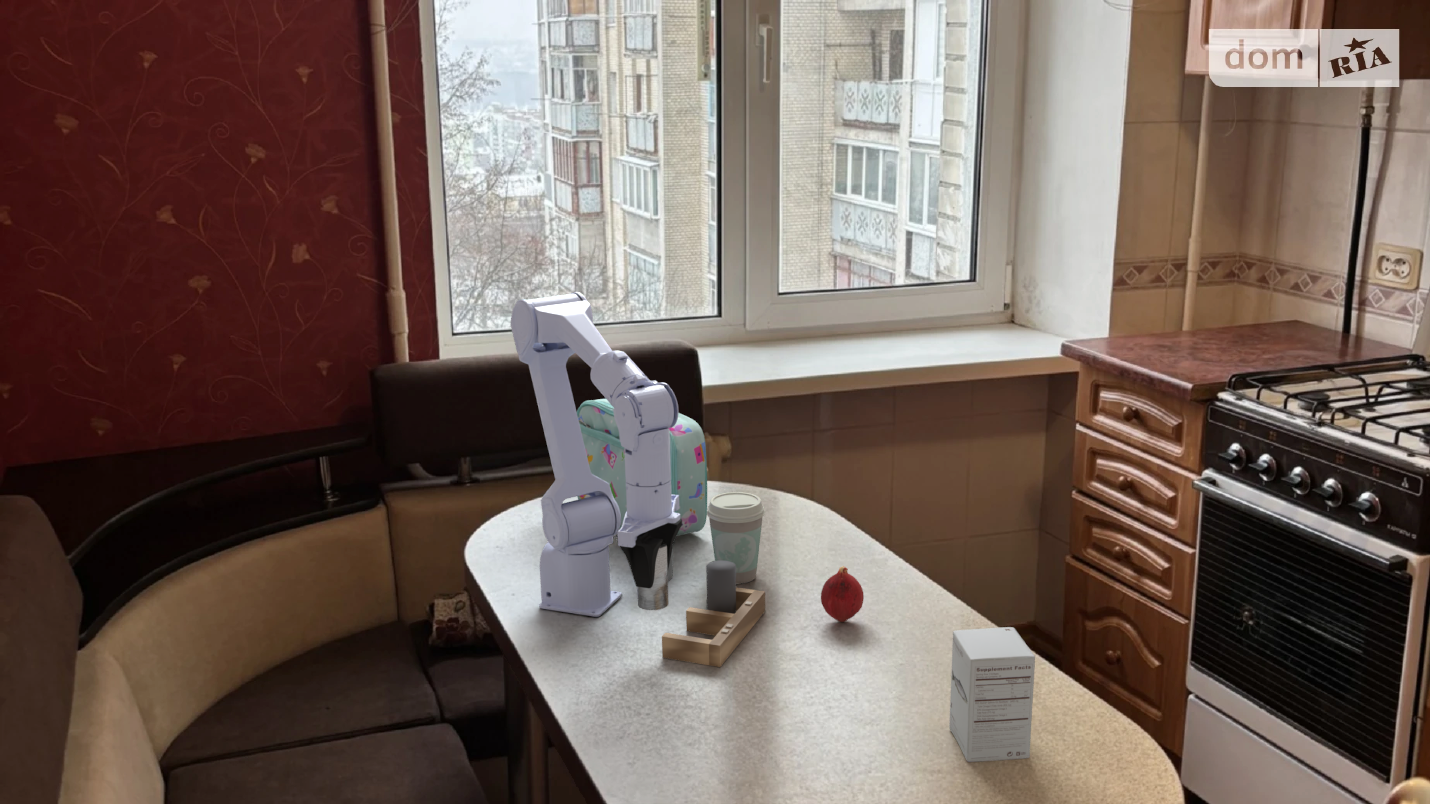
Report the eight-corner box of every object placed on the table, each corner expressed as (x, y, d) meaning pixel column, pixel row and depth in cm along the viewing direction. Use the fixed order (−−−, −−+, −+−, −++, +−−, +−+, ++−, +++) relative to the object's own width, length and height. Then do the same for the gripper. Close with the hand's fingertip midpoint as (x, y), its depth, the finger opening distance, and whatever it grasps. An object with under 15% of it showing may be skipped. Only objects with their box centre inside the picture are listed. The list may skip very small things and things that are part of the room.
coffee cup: (699, 583, 187) (697, 506, 183) (720, 561, 194) (719, 487, 191) (753, 591, 183) (752, 513, 180) (773, 569, 191) (772, 494, 188)
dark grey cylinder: (702, 623, 173) (702, 569, 171) (713, 612, 177) (712, 558, 175) (730, 628, 172) (729, 573, 170) (740, 616, 175) (740, 562, 173)
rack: (662, 657, 164) (661, 635, 163) (711, 603, 180) (711, 582, 179) (720, 667, 161) (719, 644, 160) (765, 611, 177) (765, 590, 176)
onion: (861, 632, 170) (861, 577, 168) (818, 629, 171) (818, 574, 169) (865, 614, 175) (865, 560, 173) (823, 611, 177) (823, 558, 174)
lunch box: (564, 512, 217) (558, 391, 211) (612, 497, 223) (607, 379, 218) (666, 554, 198) (662, 422, 192) (715, 537, 204) (712, 409, 199)
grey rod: (632, 608, 163) (630, 550, 161) (645, 595, 167) (643, 538, 165) (661, 612, 162) (659, 553, 160) (673, 599, 165) (671, 542, 163)
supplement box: (947, 729, 146) (951, 628, 142) (1010, 725, 146) (1015, 625, 143) (965, 764, 139) (969, 658, 135) (1031, 759, 139) (1037, 655, 136)
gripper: (653, 501, 152) (656, 606, 155) (699, 465, 165) (701, 562, 168) (600, 495, 154) (605, 598, 158) (650, 460, 167) (653, 556, 171)
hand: (651, 579), depth 163 cm, fingers closed on grey rod, 4 cm apart
